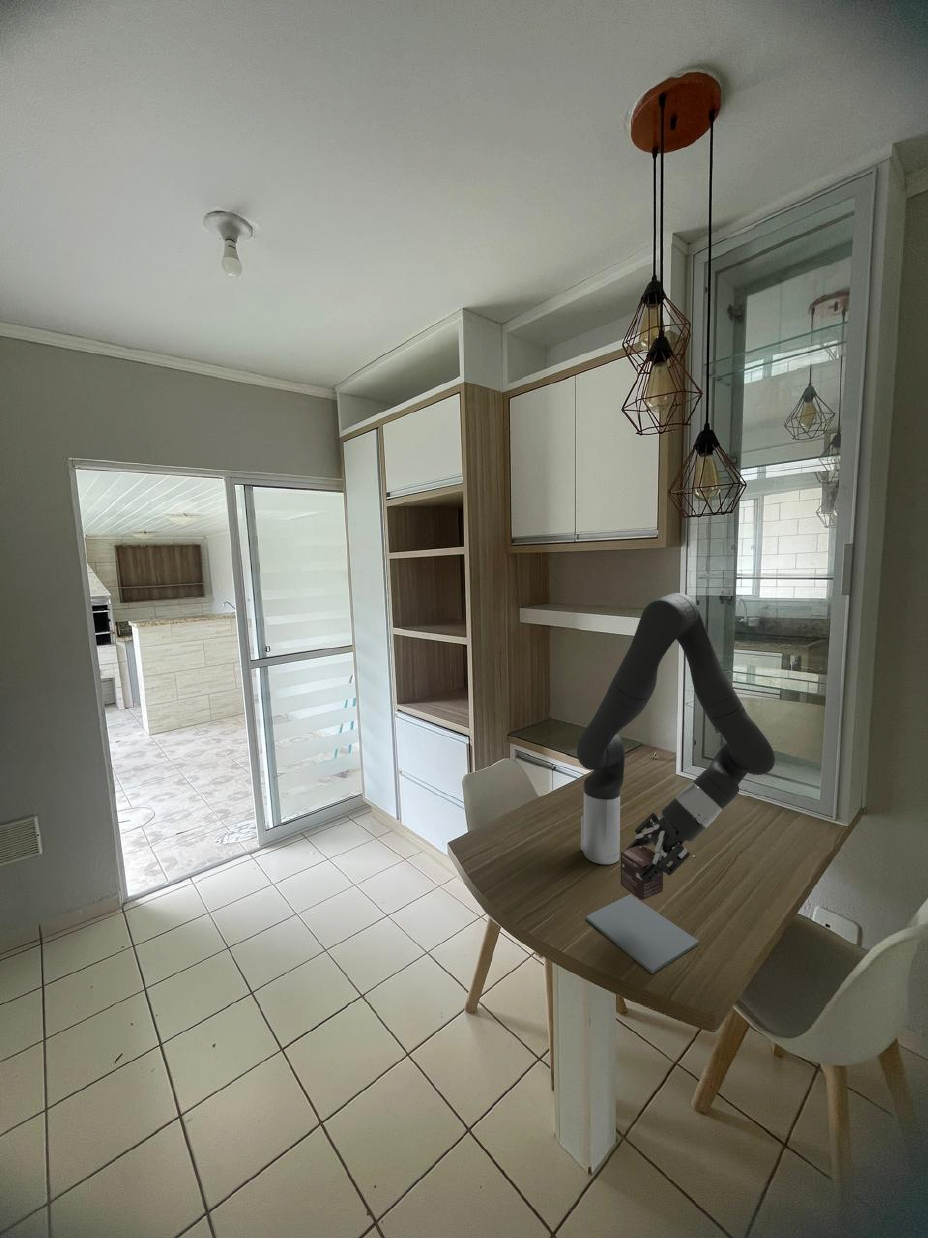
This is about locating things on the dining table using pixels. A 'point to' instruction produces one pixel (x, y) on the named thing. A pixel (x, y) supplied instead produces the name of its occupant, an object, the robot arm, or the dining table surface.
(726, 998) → the dining table surface
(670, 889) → the dining table surface
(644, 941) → the mat
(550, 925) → the dining table surface
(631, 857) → the box
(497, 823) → the dining table surface
